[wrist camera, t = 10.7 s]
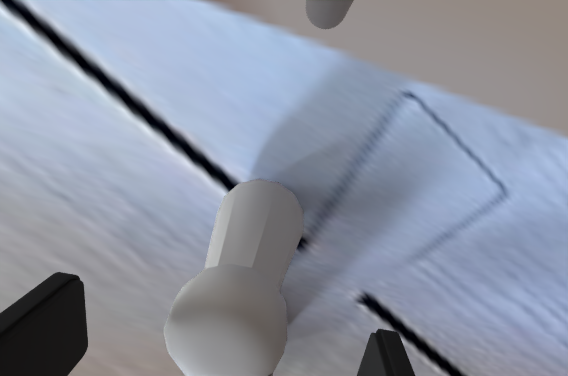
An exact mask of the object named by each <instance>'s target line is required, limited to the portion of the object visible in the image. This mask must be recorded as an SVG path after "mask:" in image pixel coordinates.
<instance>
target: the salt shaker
mask: <svg viewBox="0 0 568 376" xmlns="http://www.w3.org/2000/svg"><path fill="white" fill-rule="evenodd" d="M303 231H304V212H303V210H302V208H301V206H300V204H299V202H298V200H297V199H296V197H295V195H294V193H292V192H291V191H290V190H288V189H287V188H285V187H284V186H283V185H281V184H280V183H279V182H274V181H269V180H264V179H255V180H251V181H247V182H243V183H240V184H238V185H237V186H236V187H234V188H233V189H232V190H231V191H230V192H229V193H228V194H227V195H225V196H224V198H223V200H222V203H221V205H220V207H219V210H218V212H217V215H216V220H215V224H214V228H213V233H212V237H211V242H210V246H209V250H208V255H207V259H206V263H205V268H204V270H203V271H201V272H200V273H199V274H198V275H196V276H195V277H194V278H193V279H191V280H190V281H189V282H188V283H186V284H185V285H184V286H183V288H182V289H181V290H180V292H179V293H178V294H177V296H176V298H175V301H174V303H173V306H172V308H171V311H170V313H169V316H168V318H167V321H166V324H165V327H164V330H163V332H164V336H165V341H166V346H167V351H168V353H169V354H170V356H171V357H172V359H173V360H174V361H175V363H176V364H177V365H178V367H179V368H180V369H181V370H182V372H183V373H184V374H185V376H268V375H270V374H271V373H273V371H274V370H275V368H276V366H277V364H278V362H279V361H280V359H281V357H282V355H283V353H284V349H285V345H286V342H287V305H286V302H285V300H284V298H283V296H282V295H281V293H280V292H279V291H280V288H281V285H282V282H283V280H284V277H285V274H286V272H287V269H288V267H289V265H290V262H291V260H292V257H293V255H294V253H295V250H296V248H297V246H298V243H299V241H300V239H301V236H302V234H303Z"/></svg>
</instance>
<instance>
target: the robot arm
mask: <svg viewBox="0 0 568 376" xmlns="http://www.w3.org/2000/svg"><path fill="white" fill-rule="evenodd" d="M87 347H88V337H87V323H86V310H85V296H84V284H83V282H82V281H80V278H79V276H77V275H73V274H67V273H61V272H57V273H55V274H53V275H52V276H50V277H49V278H47V279H46V280H45V281H43V282H42V283H41V284H39V285H38V286H37V287H35V288H34V289H33V290H31V291H30V292H29V293H27V294H26V295H24V296H23V297H22V298H20V299H19V300H18V301H16V302H15V303H14V304H12V305H11V306H10V307H8V308H7V309H5V310H4V311H3V312H1V313H0V376H67V375H68V374H69V373H70V372H71V371H72V369H73V368H74V367H75V366H76V365H77V363H78V362H79V361H80V360H81V358H82V357H83V356H84V354H85V352H86V350H87ZM357 376H415V374H414V371H413V369H412V366H411V364H410V361H409V359H408V356H407V353H406V351H405V348H404V346H403V343H402V341H401V338H400V336H399V334H398V333H397V332H394V331H389V330H383V329H378V330H377V332H376V333H371V335H370V338H369V341H368V344H367V347H366V350H365V353H364V356H363V359H362V362H361V365H360V368H359V371H358V374H357Z"/></svg>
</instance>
